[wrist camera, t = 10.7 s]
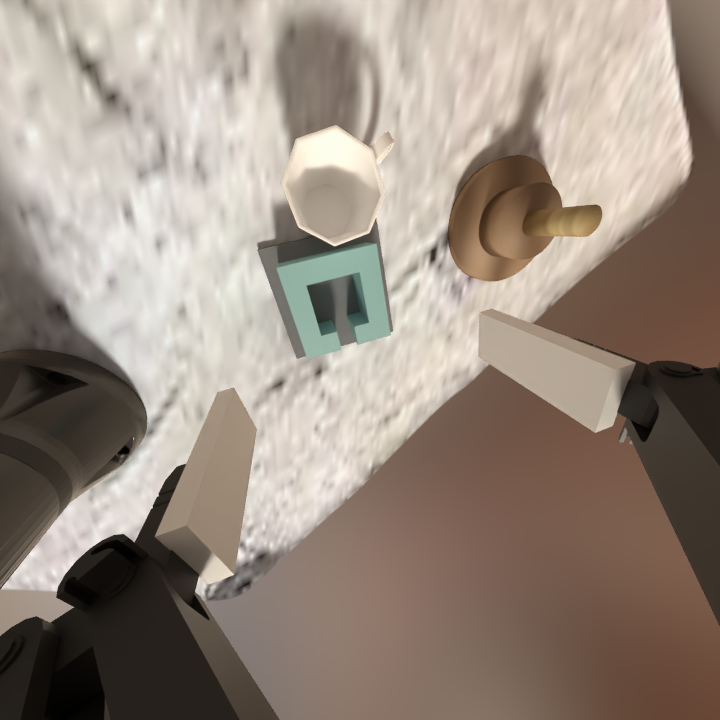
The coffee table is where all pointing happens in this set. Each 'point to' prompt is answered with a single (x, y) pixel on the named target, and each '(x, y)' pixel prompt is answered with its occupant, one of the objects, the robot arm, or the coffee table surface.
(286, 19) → the coffee table surface
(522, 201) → the stand
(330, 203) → the cup
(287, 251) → the mat
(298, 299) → the link
